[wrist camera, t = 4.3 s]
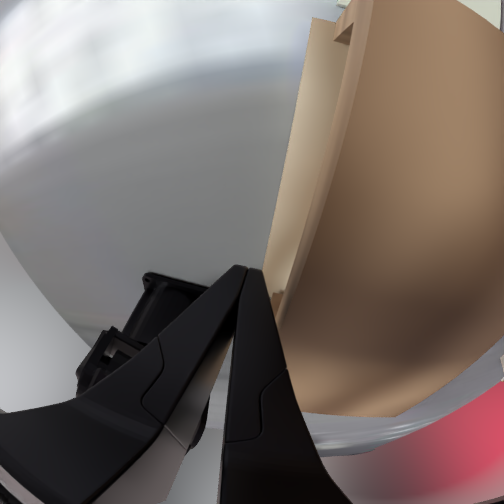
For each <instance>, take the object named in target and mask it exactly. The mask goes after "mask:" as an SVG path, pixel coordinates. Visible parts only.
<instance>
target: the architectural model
mask: <svg viewBox="0 0 504 504" xmlns="http://www.w3.org/2000/svg"><path fill="white" fill-rule="evenodd" d="M500 360H501V363H502V367H503V371H504V355H503V356H502V357H501V358H500ZM501 381H504V377H503V378H502V379H501Z"/></svg>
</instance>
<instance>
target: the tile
mask: <svg viewBox="0 0 504 504" xmlns="http://www.w3.org/2000/svg"><path fill="white" fill-rule="evenodd" d="M350 1H351V0H337V5H336V6H339V7H343V8H346V7H347V6H348V4H349V3H350ZM457 1H459V2H461V3H462V4H464V5H465V6H467V7H469V8H470V9H472V10H473V11H475V12H476V13H477V14H479V15H480V16H482V17H483V18H485V19H486V20H487V21H489V22H490V23H491V24H493V25H494V26H495V27H496V28H498V29H499V30H500V18H501V0H457Z"/></svg>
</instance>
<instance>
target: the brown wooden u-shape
mask: <svg viewBox="0 0 504 504" xmlns="http://www.w3.org/2000/svg"><path fill="white" fill-rule="evenodd" d="M333 41H335V42H339V43H343V44H346V45H350V46H349V51H348V56H347V61H346V65H345V70H344V75H343V79H342V84H341V89H340V93H339V97H338V102H337V106H336V110H335V115H334V119H333V123H332V127H331V131H330V135H329V139H328V143H327V147H326V151H325V155H324V158H323V162H322V166H321V170H320V174H319V177H318V181H317V185H316V188H315V192H314V195H313V199H312V202H311V206H310V209H309V213H308V216H307V220H306V223H305V227H304V230H303V233H302V237H301V240H300V243H299V247H298V250H297V253H296V256H295V260H294V263H293V266H292V269H291V272H290V275H289V279H288V282H287V285H286V288H285V291H284V294H279V293H274V292H273V294H272V297H271V305H272V309H273V313H274V317H275V320H276V324H277V328H278V332H279V336H280V340H281V344H282V348H283V352H284V356H285V360H286V364H287V369H288V371H289V375H290V379H291V383H292V386H293V389H294V393H295V396H296V400H297V402H298V405H299V408H300V410H301V412H309V413H317V414H328V415H340V416H357V417H396V416H398V415H400V414H401V413H403V412H405V411H406V410H408V409H410V408H411V407H413V406H415V405H416V404H418V403H420V402H421V401H423V400H424V399H426V398H427V397H429V396H430V395H432V394H433V393H435V392H436V391H438V390H439V389H440V388H442V387H443V386H445V385H446V384H447V383H449V382H450V381H451V380H453V379H454V378H455V377H457V376H458V375H459V374H461V373H462V372H463V371H464V370H466V369H467V368H468V367H469V366H471V365H472V364H473V363H474V362H475V361H476V360H478V359H479V358H480V357H481V356H482V355H483V354H484V353H486V352H487V351H488V350H489V349H490V348H491V347H492V346H493V345H494V344H495V343H496V342H497V341H498V340H499V339H500V338H501V337H502V336H503V335H504V33H503V32H501V31H500V30H499V29H498V28H496V27H495V26H494V25H493V24H491V23H490V22H489V21H487V20H486V19H485V18H483V17H482V16H480V15H479V14H477V13H476V12H475V11H473V10H472V9H470V8H469V7H467V6H465V5H464V4H462V3H461V2H459V1H457V0H351V1H350V3H349V4H348V6H347V7H346V8H345V10H344V11H343V13H342V14H341V16H340V17H339V19H338V20H337V22H336V28H335V33H334V38H333Z"/></svg>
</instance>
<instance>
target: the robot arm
mask: <svg viewBox="0 0 504 504" xmlns="http://www.w3.org/2000/svg"><path fill="white" fill-rule="evenodd" d="M142 280H143V284H144V289H145V291H144V293H143V295H142V297H141V298H140V300H139V302H138V304H137V305H136V307H135V309H134V311H133V312H132V314H131V316H130V318H129V320H128V321H127V323H126V325H125V327H124V329H123V331H122V333H121V332H120V331H118V329H117V328H115V327H114V326H112V327H111V328H110V330H109V331H106V330H103V331H102V332H101V334H100V336H99V338H98V340H97V341H96V343H95V345H94V346H93V348H92V349H91V351H90V352H89V353H88V355H87V356H86V357H85V359H84V360H83V361H82V363H81V364H80V365H79V367H78V368H77V370H76V376H77V379H78V384H77V387H78V388H77V392H76V398H73V399H71V400H68V401H66V402H62V403H59V404H53V405H49V406H44V407H39V408H34V409H29V410H23V411H17V412H11V413H6V412H5V411H3V410H1V409H0V504H156V503H160V502H163V501H165V500H166V498H167V496H168V494H169V491H170V489H171V487H172V484H173V482H174V479H175V477H176V475H177V472H178V470H179V468H180V465H181V463H182V461H183V459H184V456H185V455H186V454H187V453H188V451H189V450H190V449H193V448H194V447H195V446H196V445H197V443H198V442H199V440H200V439H201V436H202V434H203V432H204V429H205V426H206V421H207V415H208V407H209V400H210V393H211V391H212V388H213V386H214V383H215V381H216V378H217V376H218V374H219V371H220V369H221V366H222V364H223V361H224V359H225V356H226V354H227V351H228V349H229V346H230V344H231V341H232V338H233V335H234V340H233V348H232V357H231V367H230V376H229V385H228V395H227V404H226V414H225V424H224V434H223V444H222V454H221V464H220V474H219V485H218V495H217V496H218V497H217V504H353V503H352V502H351V501H350V500H349V498H348V497H347V496H346V495H345V494H344V493H343V491H342V490H341V489H340V488H339V487H338V486H337V485H336V483H335V482H334V481H333V480H332V478H331V477H330V475H329V474H328V472H327V470H326V469H325V467H324V465H323V463H322V461H321V459H320V457H319V454H318V452H317V450H316V447H315V445H314V443H313V440H312V438H311V435H310V433H309V431H308V428H307V426H306V423H305V421H304V418H303V416H302V413H301V410H300V408H299V405H298V402H297V400H296V396H295V393H294V389H293V386H292V383H291V379H290V375H289V371H288V369H287V364H286V360H285V356H284V352H283V348H282V344H281V340H280V336H279V332H278V328H277V324H276V320H275V317H274V313H273V309H272V305H271V301H270V297H269V293H268V289H267V286H266V282H265V278H264V274H263V271H262V270H260V269H255V268H249V269H248V268H247V267H246V266H241V265H233V266H232V267H231V268H230V269H229V270H228V271H227V272H226V273H225V274H224V275H222V276H221V277H220V278H219V279H218V280H217V281H216V282H215V283H214V284H213V285H212V286H211V287H209V288H208V289H206V288H202V287H198V286H194V285H190V284H187V283H183V282H179V281H175V280H171V279H168V278H164V277H160V276H157V275H153V274H150V273H145V274H144V276H143V277H142ZM110 354H111V355H113V357H112V358H111V357H109V356H110ZM475 504H504V496H501V497H498V498H495V499H491V500H487V501H483V502H480V503H475Z"/></svg>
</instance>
